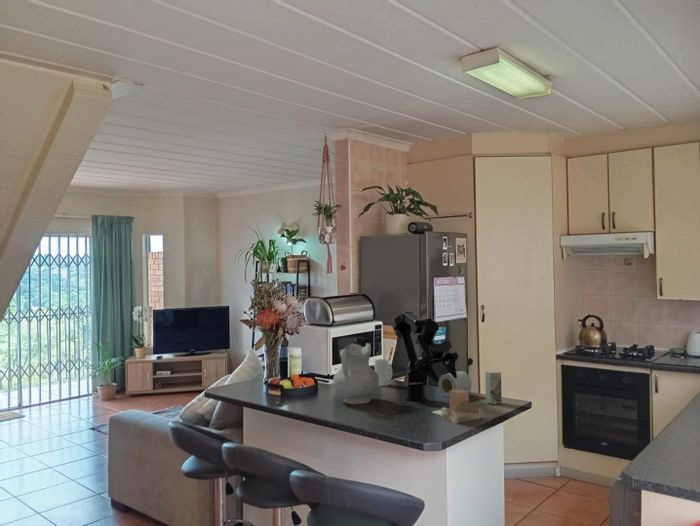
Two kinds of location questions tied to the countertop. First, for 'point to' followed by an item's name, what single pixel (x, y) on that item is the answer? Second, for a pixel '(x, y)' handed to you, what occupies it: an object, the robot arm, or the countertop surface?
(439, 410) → the mat
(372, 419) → the countertop surface
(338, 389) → the ceramic pitcher
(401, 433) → the countertop surface
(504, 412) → the countertop surface
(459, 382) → the toilet paper
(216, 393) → the countertop surface
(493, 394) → the box
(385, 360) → the mug
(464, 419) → the cubby
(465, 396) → the brown rectangular block
